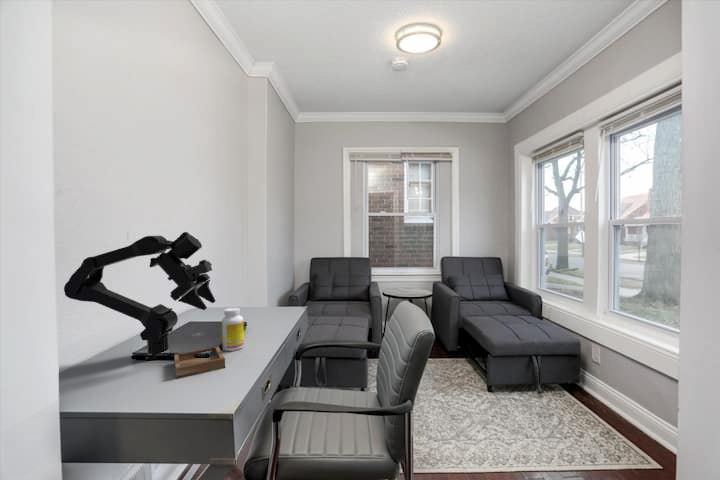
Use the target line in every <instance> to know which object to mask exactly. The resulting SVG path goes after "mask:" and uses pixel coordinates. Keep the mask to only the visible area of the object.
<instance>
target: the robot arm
mask: <svg viewBox="0 0 720 480" xmlns="http://www.w3.org/2000/svg"><path fill="white" fill-rule="evenodd" d="M201 248H203V246H202V243H201V241H200V240H199V239H198V238H196V237H195V236H193V235H191V234H190V233H189V232H188V231H184V232H182V233H181V234H180V236H178V237H177V238H176V239H175V240H174V241H173V240H167V238H166V237H164V235H163V236H162V235H148V236H144V237H142V238H140V239H138V240H136V241H134V242H133V243H131V244H130V245H127V246H125V247H120V248H117V249H115V250H111V251H107V252H104V253H102V254H98V255H94V256H88V257H86V258H84V260H83V261H82V262H81V265H80V266H79V267H78V268H77V269H76V270H75V271H74V272H73V273H72V274H71V276H70V277H69V279H68V281H67V282H66V283H65V284H64V287H63V292H64V295H65V297H67V298H68V299H71V300H75V301H80V302H91V303H97V304H99V305H101V306H104V307H106V308H108V309H111V310H114V311H115V312H118V313H120V314H123V315H125V316H128V317H131V318H132V319H135V320H137V321H139V322H140V324H142V325H143V327H144V329H143V330H142V331H141V332H140V333H139V336H140V338H141V340H142V341H146V342H147V343H146V344H147V345H146V346H147V347H146V348H147V352H148V353H152V357H146V356H145V361H150V360H157V358H156V356H155V355H156V354H158V353H161V352H164V351H166V350H168V349H169V348H170V346H169V345H170V343H169V340H170V338H169V333H170V332H173V329H174V326H176V325H177V323H178V321H179V320H178V315H177V313H176V312H175V311H174V310H173V308H171V307H170V308H169V307H167V306H166V305H163V304H161V303H159V304H157V305H155V306H152V307H151V306H148V305H146V304H143V303H141V302H138V301H136V300H134V299H131V298H129V297H126V296H124V295H121V294H119V293H117V292H115V291H113V290H109V289H108V288H107V287H106V286H105V284H104V283H103V282H101V280H102V279H103V277H104V275H103V273H104V269H105V267H108V266H110V265H115V264H118V263H120V262H125V261H128V260H130V259H134V258H137V257H144V256H152V255H158V256H157V257H151V258H150V263H149V268H153V267H157V266H159V267H160V269H161V270H162V271H163V272H164V273H165V274H166V275H167V276H168V277H167V280H168V281H173V283H174V284H175V285H176V287H174V289H172V290H171V291H170V295H169V296H170V298H171V299H172V300H173V301H177V302H178V303H179V302H180V303H184V304H186V305H189V306H192V307H195V308H197V309H198V310H199V309H200V310H202V311H206V310H207V309H208V306H207V305H206V304H205V302H204V301H203V299H204V300H205V301H207V302H209V303H211V304H214V303H215V302H216V299H215V297H214V294H213V292H212V291H211V288H210V281H211V279H210V278H211V277H210V275H208V274H207V273H209V272H210V271H211V272H212V271H213V268H212V263H211V262H210V261H209V260H207V259H202V260H199V262H198V264H197V265H194V266H192V265H191V264H186V263H185V262H184V261H183V260H182V259H185V260H189V258H190V257H191V256H193V255H195V253H197V252H198V251H199V250H200V249H201ZM167 250H168V251H167ZM202 298H203V299H202Z"/></svg>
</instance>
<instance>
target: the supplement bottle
mask: <svg viewBox="0 0 720 480" xmlns="http://www.w3.org/2000/svg"><path fill="white" fill-rule="evenodd" d="M240 313H241V310H240V308H239V307H230V308H226V309H224V317H223V318H222V319H221V342H222V350H223V351H226V352H233V351H239V350H240V349H241V350H242V349H243V348H244V347H245V340H244V339H245V335H244V334H245V333H244V331H245V330H244V318H243V316H242V315H240Z"/></svg>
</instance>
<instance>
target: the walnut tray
mask: <svg viewBox="0 0 720 480" xmlns="http://www.w3.org/2000/svg"><path fill="white" fill-rule="evenodd" d="M210 350H211V351H213V355H212V356H211V357H209V358H195V357H194V354H197V353H201V352H206V351H210ZM173 356H174V369H175V375H176V376H175V377H176V379H181V378H185V377H190V376H194V375H199V374H202V373H203V374H204V373H208V372H213V371H216V370H221V369H225V368H226V358H225V356H224V354H223V352H222V351H221V349H220V347H219V345H217V346H212V347H205V348H201V349H197V350H196V349H195V350H191V351H184V352H180V353H174V355H173Z"/></svg>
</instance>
